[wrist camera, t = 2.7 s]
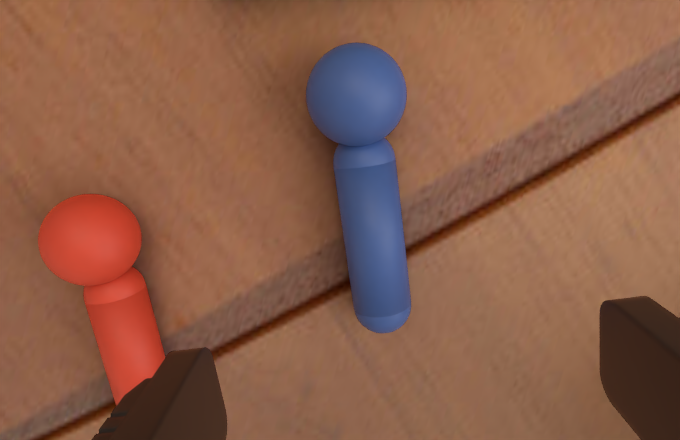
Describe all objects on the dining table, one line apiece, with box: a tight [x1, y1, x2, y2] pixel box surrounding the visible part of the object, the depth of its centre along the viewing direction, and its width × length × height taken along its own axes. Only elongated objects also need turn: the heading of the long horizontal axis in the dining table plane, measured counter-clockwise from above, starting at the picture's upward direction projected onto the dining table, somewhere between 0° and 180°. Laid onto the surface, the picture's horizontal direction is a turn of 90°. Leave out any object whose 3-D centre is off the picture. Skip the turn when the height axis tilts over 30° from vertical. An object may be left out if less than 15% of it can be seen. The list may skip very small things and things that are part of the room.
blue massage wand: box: [306, 43, 411, 333], centre depth 18 cm, size 12×4×4 cm, turn 8°
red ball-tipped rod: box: [38, 194, 165, 406], centre depth 20 cm, size 12×4×4 cm, turn 8°
